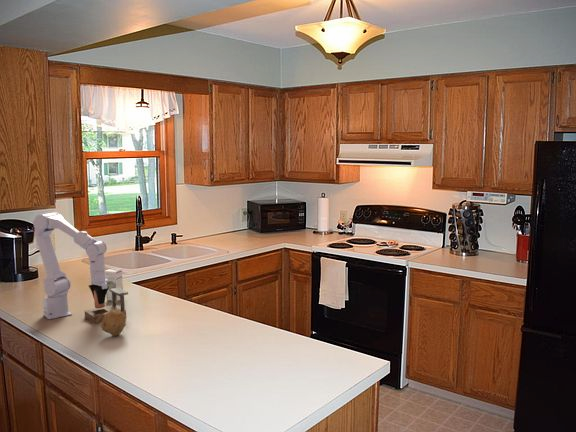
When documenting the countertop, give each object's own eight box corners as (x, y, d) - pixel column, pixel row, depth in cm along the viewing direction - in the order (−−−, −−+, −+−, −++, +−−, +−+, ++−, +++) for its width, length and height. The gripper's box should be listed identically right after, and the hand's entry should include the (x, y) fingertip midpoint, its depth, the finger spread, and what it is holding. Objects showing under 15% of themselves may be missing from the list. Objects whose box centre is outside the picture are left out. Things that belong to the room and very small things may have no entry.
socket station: (94, 324, 212) (92, 299, 210) (84, 317, 220) (83, 293, 218) (129, 316, 221) (128, 292, 220) (119, 310, 229) (118, 287, 228)
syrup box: (124, 298, 248) (122, 268, 246) (116, 301, 242) (115, 271, 240) (113, 297, 249) (112, 267, 247) (106, 300, 243) (104, 270, 242)
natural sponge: (100, 341, 193) (99, 315, 192) (102, 332, 202) (101, 308, 200) (126, 338, 196) (125, 312, 194) (127, 330, 204) (125, 305, 203)
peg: (106, 306, 218) (105, 290, 217) (96, 308, 215) (95, 292, 214) (102, 304, 221) (101, 288, 220) (93, 306, 218) (92, 290, 217)
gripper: (113, 272, 213) (115, 304, 215) (100, 266, 224) (102, 296, 226) (96, 274, 208) (98, 307, 210) (84, 268, 219) (85, 299, 221)
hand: (99, 302), depth 218 cm, fingers closed on peg, 4 cm apart
